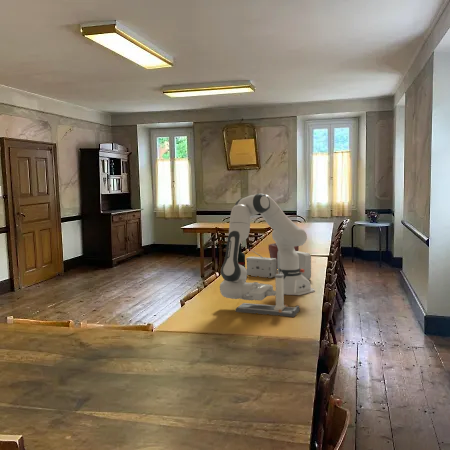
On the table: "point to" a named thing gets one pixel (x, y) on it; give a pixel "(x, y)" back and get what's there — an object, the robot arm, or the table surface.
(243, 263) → the wine bottle
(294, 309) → the board
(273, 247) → the bucket
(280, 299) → the fader tab
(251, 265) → the stereo radio cassette player
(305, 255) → the rounded white slab
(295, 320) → the table surface
